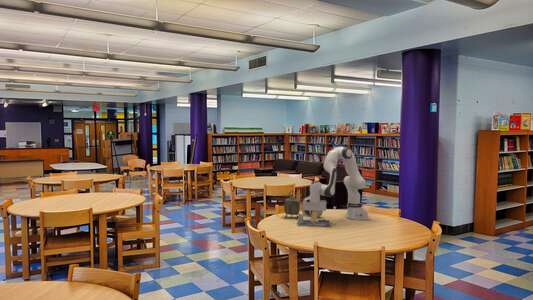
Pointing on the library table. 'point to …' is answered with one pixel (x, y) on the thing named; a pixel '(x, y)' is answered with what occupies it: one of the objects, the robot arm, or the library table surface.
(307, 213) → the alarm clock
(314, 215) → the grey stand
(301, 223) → the gauge bed
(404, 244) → the library table surface
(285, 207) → the tabletop clock
